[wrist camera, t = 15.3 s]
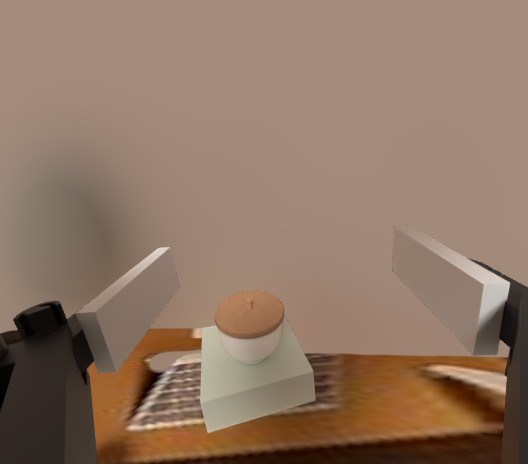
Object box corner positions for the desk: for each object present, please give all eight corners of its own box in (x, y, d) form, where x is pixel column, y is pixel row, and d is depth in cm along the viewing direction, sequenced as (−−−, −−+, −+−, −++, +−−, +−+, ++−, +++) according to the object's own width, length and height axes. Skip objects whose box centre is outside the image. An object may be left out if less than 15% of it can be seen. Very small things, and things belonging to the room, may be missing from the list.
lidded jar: (225, 386, 35) (217, 331, 32) (215, 335, 45) (209, 289, 42) (296, 365, 38) (295, 312, 35) (272, 321, 48) (270, 277, 45)
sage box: (284, 334, 53) (282, 309, 51) (315, 402, 38) (313, 371, 36) (207, 353, 50) (202, 328, 49) (208, 435, 35) (200, 403, 34)
